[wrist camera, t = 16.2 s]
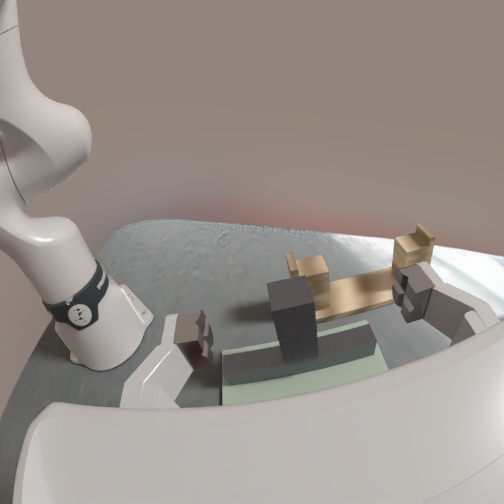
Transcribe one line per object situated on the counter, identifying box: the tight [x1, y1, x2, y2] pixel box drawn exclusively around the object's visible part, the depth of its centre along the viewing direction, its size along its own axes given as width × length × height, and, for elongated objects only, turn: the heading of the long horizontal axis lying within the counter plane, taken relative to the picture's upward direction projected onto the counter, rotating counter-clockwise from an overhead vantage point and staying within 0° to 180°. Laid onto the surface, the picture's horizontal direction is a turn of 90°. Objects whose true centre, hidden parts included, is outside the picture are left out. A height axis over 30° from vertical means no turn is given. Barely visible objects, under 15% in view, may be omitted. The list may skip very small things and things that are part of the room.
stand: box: [286, 224, 435, 324], centre depth 39 cm, size 24×7×10 cm, turn 94°
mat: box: [222, 320, 388, 405], centre depth 34 cm, size 21×9×1 cm, turn 94°
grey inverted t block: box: [223, 275, 377, 386], centre depth 30 cm, size 19×4×13 cm, turn 94°
